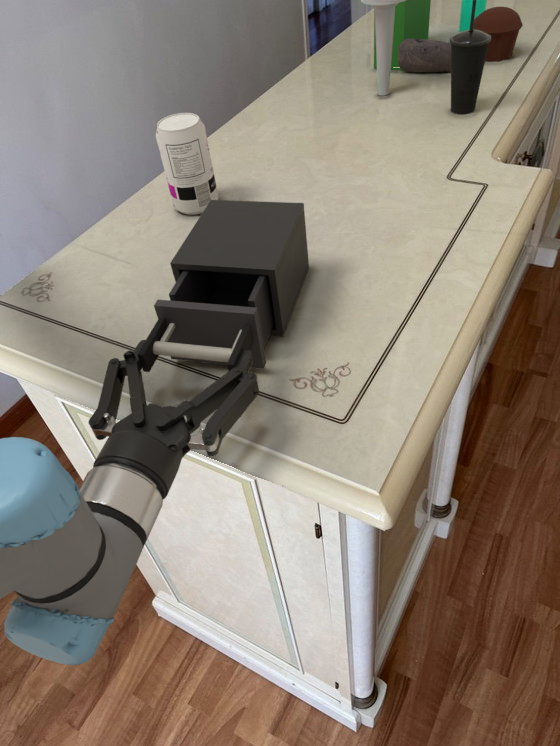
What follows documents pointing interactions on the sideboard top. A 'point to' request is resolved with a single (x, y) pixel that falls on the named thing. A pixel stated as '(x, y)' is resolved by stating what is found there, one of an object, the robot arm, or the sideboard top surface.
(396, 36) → the hardback book
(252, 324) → the open drawer with handle
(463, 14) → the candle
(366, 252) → the sideboard top surface
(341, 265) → the sideboard top surface
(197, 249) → the drawer cabinet
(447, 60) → the perforated stone tool
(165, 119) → the supplement can
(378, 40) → the novelty light stick
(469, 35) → the drinking cup
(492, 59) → the muffin
